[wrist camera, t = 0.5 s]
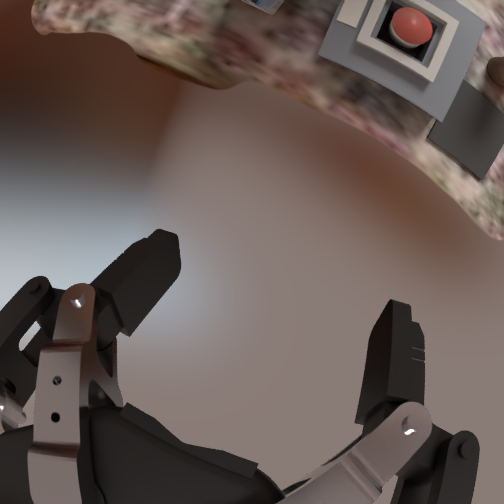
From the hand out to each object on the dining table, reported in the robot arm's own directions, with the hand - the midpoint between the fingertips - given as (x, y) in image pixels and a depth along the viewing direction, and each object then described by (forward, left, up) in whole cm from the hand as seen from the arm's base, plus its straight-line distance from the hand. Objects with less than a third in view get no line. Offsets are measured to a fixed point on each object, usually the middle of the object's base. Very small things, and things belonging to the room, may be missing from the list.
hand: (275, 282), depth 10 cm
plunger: (-15, +2, -24) cm, 28 cm away
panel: (-15, +2, -26) cm, 30 cm away
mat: (-10, +14, -26) cm, 31 cm away
